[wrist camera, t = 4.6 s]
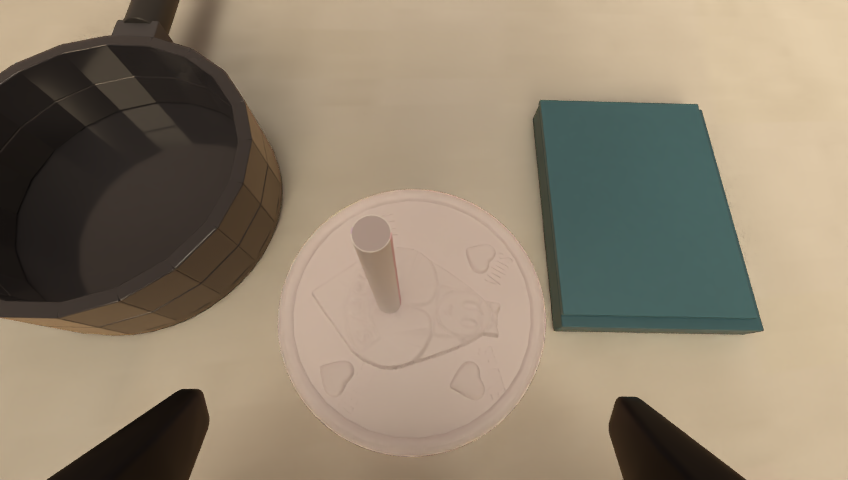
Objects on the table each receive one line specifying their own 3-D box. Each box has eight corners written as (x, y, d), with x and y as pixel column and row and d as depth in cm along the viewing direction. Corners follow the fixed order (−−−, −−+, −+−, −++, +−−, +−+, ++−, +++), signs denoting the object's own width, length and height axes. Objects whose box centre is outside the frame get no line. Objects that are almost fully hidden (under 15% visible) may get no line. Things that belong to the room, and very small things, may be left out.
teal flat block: (744, 334, 19) (770, 330, 18) (553, 331, 19) (564, 326, 18) (687, 121, 23) (705, 104, 22) (532, 117, 23) (540, 99, 22)
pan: (260, 338, 19) (215, 321, 14) (-33, 333, 18) (-166, 314, 14) (297, 103, 23) (271, 39, 19) (64, 97, 23) (-13, 31, 19)
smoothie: (358, 273, 20) (248, 32, 7) (489, 292, 20) (640, 81, 6) (328, 415, 17) (73, 473, 4) (477, 438, 17) (674, 568, 4)
